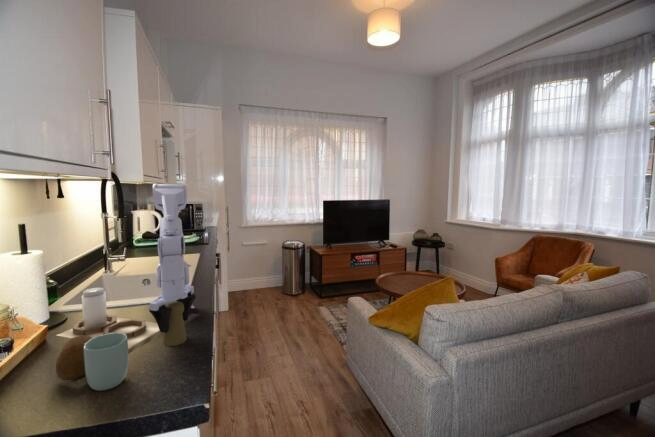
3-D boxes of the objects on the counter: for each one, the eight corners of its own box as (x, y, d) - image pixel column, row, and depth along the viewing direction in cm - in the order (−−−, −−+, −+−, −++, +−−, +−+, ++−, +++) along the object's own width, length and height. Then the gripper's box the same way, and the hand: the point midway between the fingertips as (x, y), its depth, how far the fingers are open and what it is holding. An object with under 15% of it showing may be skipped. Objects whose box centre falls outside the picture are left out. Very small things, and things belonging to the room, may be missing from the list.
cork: (177, 347, 83) (175, 308, 82) (157, 344, 84) (156, 306, 83) (191, 336, 89) (190, 300, 88) (173, 334, 90) (171, 298, 89)
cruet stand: (103, 319, 99) (103, 310, 99) (168, 329, 93) (168, 320, 93) (56, 340, 86) (55, 330, 85) (128, 353, 79) (128, 342, 79)
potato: (112, 355, 79) (110, 322, 78) (95, 383, 68) (92, 345, 67) (71, 361, 76) (69, 327, 75) (47, 391, 65) (44, 352, 64)
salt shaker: (97, 321, 94) (95, 286, 93) (112, 324, 93) (110, 288, 92) (78, 329, 89) (76, 292, 88) (93, 332, 87) (91, 294, 86)
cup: (80, 400, 62) (77, 353, 61) (92, 378, 69) (89, 336, 68) (126, 390, 65) (123, 346, 64) (132, 370, 72) (130, 330, 71)
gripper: (164, 288, 77) (167, 339, 78) (202, 272, 91) (203, 316, 92) (141, 285, 78) (144, 336, 80) (181, 270, 92) (183, 314, 94)
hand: (174, 325), depth 86 cm, fingers open, 7 cm apart
